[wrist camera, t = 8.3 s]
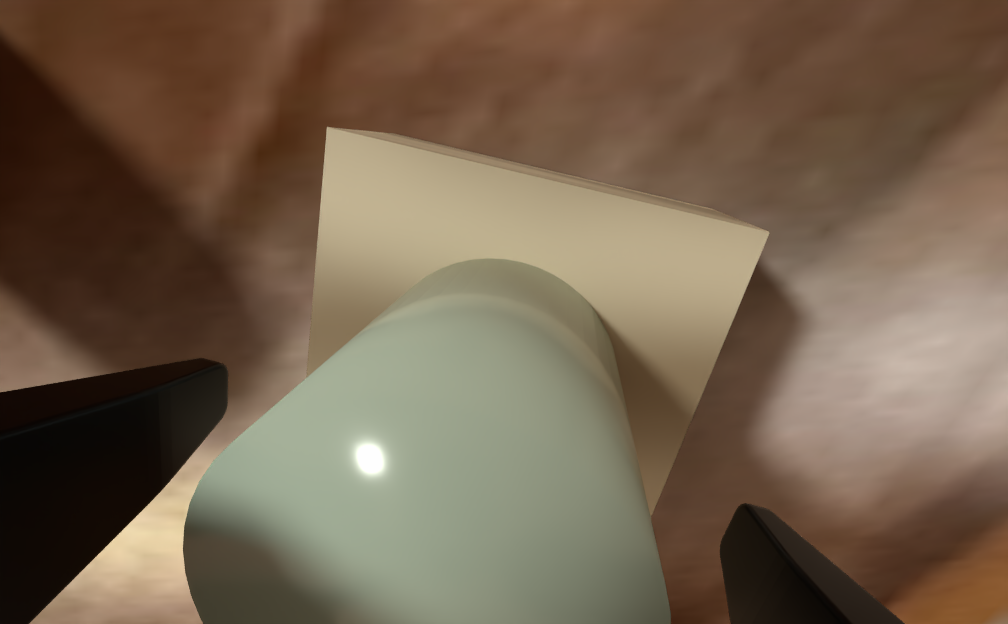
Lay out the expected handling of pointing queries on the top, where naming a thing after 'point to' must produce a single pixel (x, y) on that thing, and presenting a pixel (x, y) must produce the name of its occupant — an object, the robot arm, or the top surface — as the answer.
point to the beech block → (537, 262)
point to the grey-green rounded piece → (439, 474)
